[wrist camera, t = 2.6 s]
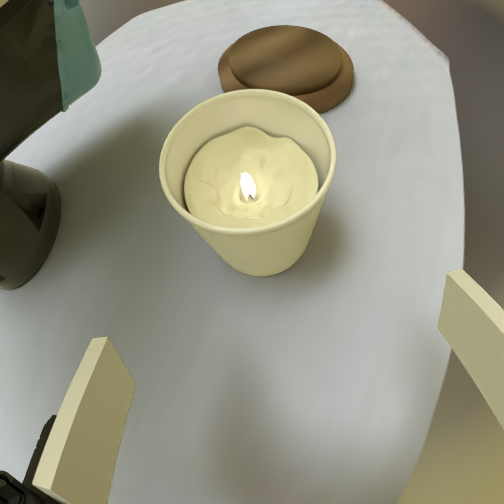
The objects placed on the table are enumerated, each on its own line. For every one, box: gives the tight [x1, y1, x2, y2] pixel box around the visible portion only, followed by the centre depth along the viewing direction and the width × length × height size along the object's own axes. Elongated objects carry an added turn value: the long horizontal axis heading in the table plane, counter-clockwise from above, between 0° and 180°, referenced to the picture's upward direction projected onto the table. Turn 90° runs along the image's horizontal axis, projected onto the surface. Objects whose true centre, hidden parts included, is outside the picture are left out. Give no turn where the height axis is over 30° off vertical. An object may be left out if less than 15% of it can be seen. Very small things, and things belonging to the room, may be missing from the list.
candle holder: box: [159, 89, 337, 276], centre depth 22 cm, size 10×10×12 cm
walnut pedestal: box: [218, 25, 353, 114], centre depth 32 cm, size 16×16×4 cm
